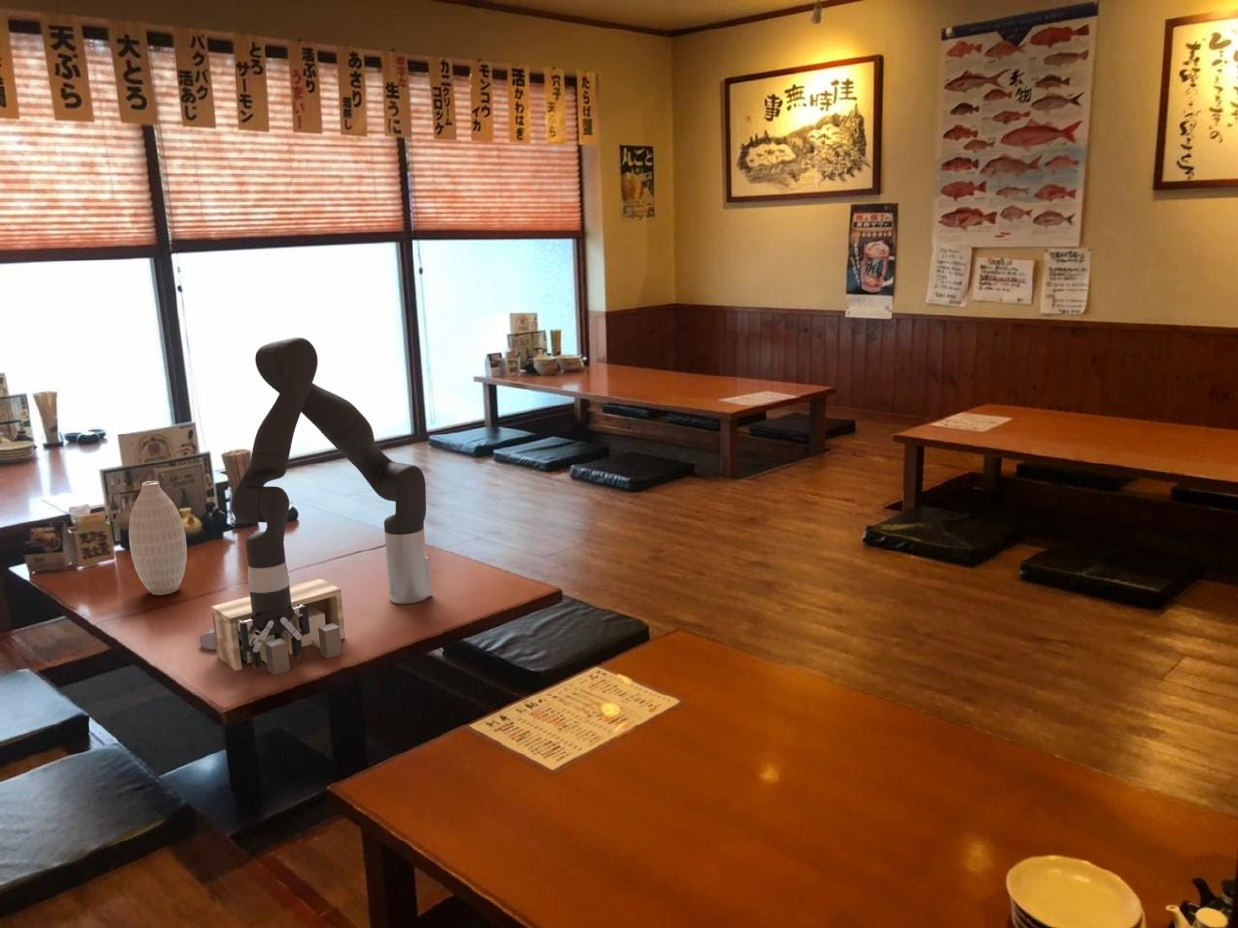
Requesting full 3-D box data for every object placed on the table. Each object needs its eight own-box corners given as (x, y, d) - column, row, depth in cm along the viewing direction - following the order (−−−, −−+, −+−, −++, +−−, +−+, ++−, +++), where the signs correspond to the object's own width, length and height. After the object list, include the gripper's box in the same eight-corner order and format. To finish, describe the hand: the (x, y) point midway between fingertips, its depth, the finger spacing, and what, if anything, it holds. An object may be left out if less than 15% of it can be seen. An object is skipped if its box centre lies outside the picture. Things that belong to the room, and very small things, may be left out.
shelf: (217, 656, 207) (211, 606, 204) (324, 625, 222) (319, 578, 220) (235, 670, 199) (229, 618, 197) (345, 637, 215) (340, 588, 213)
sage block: (236, 654, 207) (233, 627, 206) (264, 646, 211) (261, 620, 210) (267, 677, 196) (264, 648, 195) (296, 668, 200) (293, 640, 199)
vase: (193, 580, 256) (180, 474, 250) (189, 595, 245) (175, 485, 238) (140, 586, 253) (125, 479, 246) (133, 602, 241) (117, 490, 235)
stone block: (198, 657, 212) (238, 650, 209) (192, 636, 211) (232, 629, 209) (230, 637, 223) (268, 631, 221) (224, 617, 223) (263, 611, 220)
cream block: (288, 639, 215) (286, 613, 214) (314, 632, 219) (312, 606, 217) (321, 660, 203) (318, 633, 202) (348, 651, 207) (345, 625, 206)
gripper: (295, 572, 203) (303, 646, 206) (225, 589, 193) (235, 667, 197) (311, 580, 197) (319, 657, 201) (240, 598, 188) (249, 678, 191)
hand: (277, 661), depth 199 cm, fingers open, 7 cm apart
